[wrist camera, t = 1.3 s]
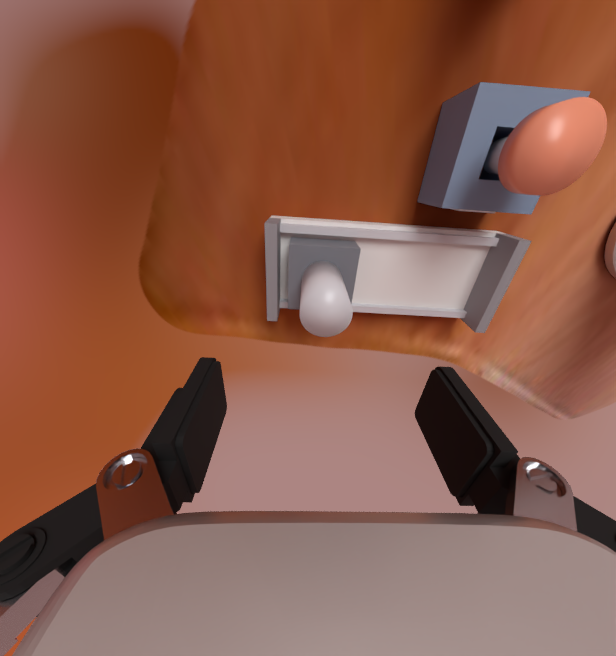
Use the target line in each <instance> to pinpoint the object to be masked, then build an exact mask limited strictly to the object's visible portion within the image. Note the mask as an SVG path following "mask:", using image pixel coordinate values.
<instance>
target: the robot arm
mask: <svg viewBox="0 0 616 656" xmlns="http://www.w3.org/2000/svg"><path fill="white" fill-rule="evenodd" d="M604 257H605V263H606V267H607V269H608V271H609V273H610V274H611V275H612V276H613V277H615V278H616V222H615V224H614V226H613V228H612V230H611V232H610V234H609V237H608V240H607V243H606V248H605V256H604ZM226 409H227V403H226V396H225V390H224V383H223V378H222V370H221V364H220V362H219V361H216V359H215V358H204V357H202V358H200V359H199V361H198V363H197V364H196V366H195V368H194V370H193V372H192V373H191V375H190V377H189V379H188V380H187V382H186V384H185V386H184V387H183V388H178V389H177V390H176V391H175V392H174V394H173V395H172V397H171V399H170V400H169V402H168V404H167V405H166V407H165V409H164V411H163V412H162V414H161V415H160V417H159V419H158V421H157V422H156V424H155V425H154V427H153V429H152V430H151V432H150V434H149V435H148V437H147V439H146V440H145V442H144V444H143V445H142V447H141V449H132V450H128V451H125V452H123V453H121V454H119V455H118V456H116V457H114V458H113V459H112V460H110V461H109V462H108V463H107V464H106V465H105V466H104V468H103V469H102V470H101V472H100V473H99V475H98V477H97V481H96V484H94V485H93V486H91V487H89V488H88V489H86V490H84V491H83V492H81V493H79V494H77V495H76V496H74V497H72V498H71V499H69V500H67V501H66V502H64V503H62V504H61V505H59V506H57V507H55V508H54V509H52V510H50V511H49V512H47V513H45V514H44V515H42V516H40V517H39V518H37V519H35V520H34V521H32V522H30V523H28V524H27V525H25V526H23V527H22V528H20V529H18V530H17V531H15V532H14V533H12V534H11V535H9V536H8V537H6V538H5V539H4V540H3V541H1V542H0V656H4V655H5V654H6V653H7V652H8V651H9V649H10V648H11V647H12V646H13V645H14V644H15V643H16V642H17V641H18V640H17V638H16V637H17V636H18V635H19V634H20V633H21V632H22V631H23V630H24V629H25V628H26V626H28V625H29V623H30V622H31V621H32V620H33V619H34V618H35V617H37V618H36V619H35V621H34V622H33V624H32V625H31V627H30V629H29V630H28V632H27V633H26V635H25V636H24V638H23V639H22V641H21V643H20V644H19V646H18V647H17V649H16V650H15V652H14V654H13V655H12V656H616V521H615V520H613V519H611V518H610V517H608V516H606V515H605V514H603V513H601V512H599V511H598V510H596V509H594V508H593V507H591V506H589V505H588V504H586V503H584V502H583V501H581V500H579V499H578V498H576V497H574V496H573V493H572V490H571V487H570V485H569V484H568V482H567V481H566V479H565V478H564V477H563V476H562V475H561V474H560V473H559V472H557V471H556V470H555V469H554V468H552V467H551V466H549V465H548V464H546V463H544V462H542V461H540V460H538V459H535V458H530V457H523V458H522V459H520V458H519V457H518V455H517V453H518V451H517V449H516V448H515V447H514V446H513V444H512V443H511V442H510V441H509V439H508V438H507V437H506V435H505V434H504V433H503V432H502V430H501V429H500V428H499V427H498V425H497V424H496V423H495V421H494V420H493V419H492V417H491V416H490V415H489V414H488V412H487V411H486V410H485V409H484V407H483V406H482V405H481V403H480V402H479V401H478V400H477V398H476V397H475V396H474V394H473V393H472V392H471V391H470V389H469V388H468V387H467V386H466V384H465V383H464V382H463V381H462V379H461V378H460V377H459V375H458V374H457V373H456V372H455V370H454V369H453V368H451V367H436V368H435V370H432V371H431V373H430V376H429V379H428V381H427V383H426V386H425V388H424V390H423V393H422V395H421V398H420V400H419V402H418V405H417V407H416V410H415V418H416V420H417V422H418V424H419V426H420V429H421V431H422V433H423V435H424V437H425V439H426V441H427V444H428V446H429V448H430V450H431V452H432V454H433V456H434V459H435V461H436V463H437V465H438V467H439V469H440V472H441V474H442V476H443V478H444V480H445V482H446V484H447V487H448V489H449V491H450V493H451V494H452V495H453V496H455V497H456V499H457V501H458V503H459V505H460V506H474V505H475V507H476V509H477V511H478V514H465V513H406V512H405V513H404V512H317V511H316V512H314V511H311V512H310V511H228V512H227V511H226V512H225V511H223V512H195V513H182V514H177V513H176V512H177V511H179V510H180V508H181V506H182V503H183V502H192V500H193V497H194V494H195V493H199V492H200V490H201V487H202V484H203V481H204V478H205V475H206V472H207V469H208V466H209V463H210V460H211V457H212V454H213V451H214V448H215V445H216V442H217V438H218V435H219V432H220V429H221V426H222V423H223V420H224V417H225V414H226Z"/></svg>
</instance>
